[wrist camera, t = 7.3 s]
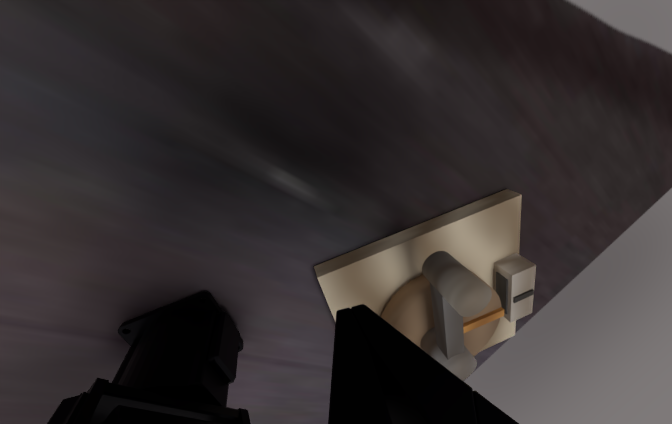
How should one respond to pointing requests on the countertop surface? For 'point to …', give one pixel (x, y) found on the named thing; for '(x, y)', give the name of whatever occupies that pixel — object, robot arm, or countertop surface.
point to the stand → (429, 237)
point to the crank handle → (446, 313)
